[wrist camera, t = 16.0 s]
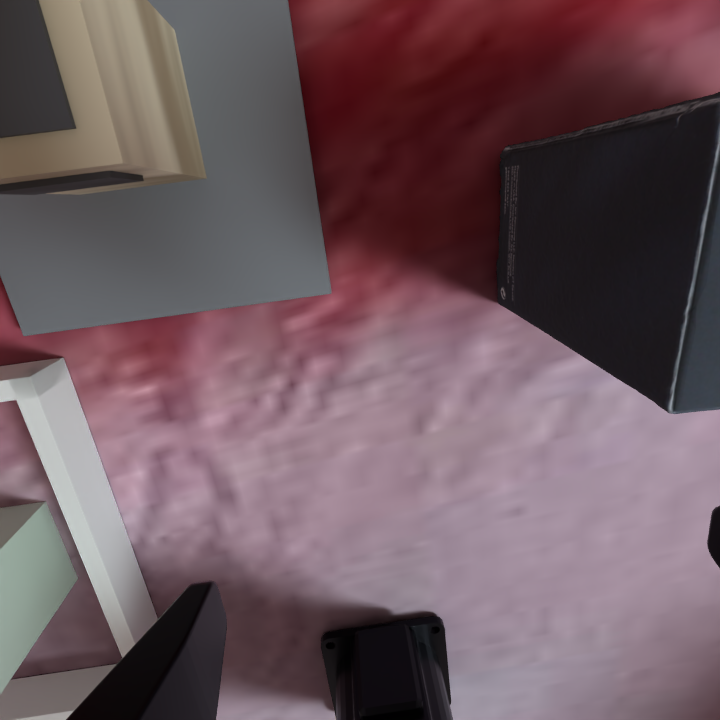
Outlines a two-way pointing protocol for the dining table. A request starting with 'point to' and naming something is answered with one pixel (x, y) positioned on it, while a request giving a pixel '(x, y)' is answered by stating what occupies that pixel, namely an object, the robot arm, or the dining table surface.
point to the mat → (187, 196)
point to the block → (29, 580)
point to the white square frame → (75, 532)
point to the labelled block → (92, 99)
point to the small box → (622, 247)
